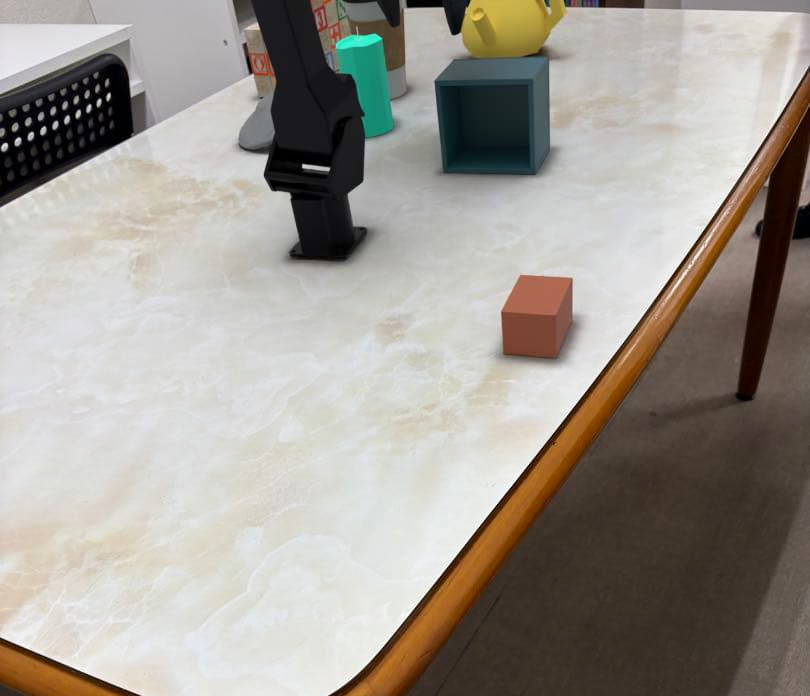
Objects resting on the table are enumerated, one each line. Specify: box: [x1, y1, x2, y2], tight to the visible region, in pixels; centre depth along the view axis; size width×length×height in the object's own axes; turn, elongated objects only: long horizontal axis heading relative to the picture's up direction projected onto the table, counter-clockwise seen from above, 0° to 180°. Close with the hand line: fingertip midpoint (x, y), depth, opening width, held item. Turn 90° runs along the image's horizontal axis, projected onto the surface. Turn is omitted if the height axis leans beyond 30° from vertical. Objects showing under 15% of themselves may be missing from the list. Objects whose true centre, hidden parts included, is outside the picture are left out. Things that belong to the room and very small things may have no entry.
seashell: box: [237, 94, 275, 151], centre depth 114 cm, size 12×6×10 cm
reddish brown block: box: [500, 274, 574, 359], centre depth 71 cm, size 6×4×4 cm
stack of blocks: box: [243, 0, 351, 98], centre depth 129 cm, size 21×6×12 cm, turn 150°
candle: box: [336, 27, 395, 138], centre depth 109 cm, size 6×6×12 cm
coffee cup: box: [342, 0, 408, 100], centre depth 117 cm, size 8×8×15 cm
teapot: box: [460, 0, 568, 58], centre depth 123 cm, size 20×18×11 cm
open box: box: [433, 55, 551, 175], centre depth 97 cm, size 7×11×10 cm, turn 70°
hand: (425, 30), depth 93 cm, fingers open, 9 cm apart
